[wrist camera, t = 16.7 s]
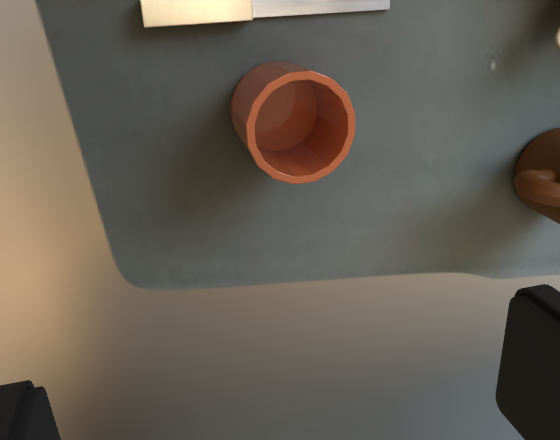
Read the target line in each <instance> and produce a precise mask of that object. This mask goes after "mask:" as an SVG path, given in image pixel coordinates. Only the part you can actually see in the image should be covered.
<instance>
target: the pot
mask: <svg viewBox="0 0 560 440" xmlns="http://www.w3.org/2000/svg"><path fill="white" fill-rule="evenodd" d="M231 119H232V123H233V127H234V129H235V131H236V133H237V135H238V136H239V138H240V140H241V142H242V143H243V145H244V146H245V148H246V149H247V151H248V152H249V154H250V155H251V157H252V158H253V159H254V161H255V162H256V164H257V165H258V167H260V168H261V169H262V170H263V171H265V172H266V173H267V174H268V175H270V176H271V177H272V178H274V179H276V180H280V181H284V182H287V183H291V184H299V183H307V182H314V181H316V180H318V179H320V178H322V177H324V176H325V175H327V174H329V173H331V172H333V171H334V170H335V169H336V167H337V166H338V165H339V164H340V163H341V162H342V161H343V159H344V158H345V157H346V156H347V154H348V152H349V149H350V147H351V144H352V141H353V139H354V136H355V111H354V109H353V106H352V104H351V101H350V99H349V96H348V94H347V92H346V91H345V90H344V89H342V88H341V87H340V86H339V85H338V84H337V83H336V82H335V81H334V80H333V79H332V78H330V77H328V76H325V75H322V74H319V73H317V72H314V71H311V70H309V69H306V68H303V67H300V66H298V65H295V64H292V63H289V62H285V61H272V62H267V63H263V64H261V65H259V66H256V67H255V68H253V69H252V70H250V71H249V72H248V73H247V74H246V75H245V76H244V77H243V78H242V79H241V80H240V82H239V83H238V85H237V87H236V88H235V91H234V93H233V96H232V101H231Z"/></svg>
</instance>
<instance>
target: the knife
mask: <svg viewBox="0 0 560 440" xmlns="http://www.w3.org/2000/svg"><path fill="white" fill-rule="evenodd" d="M140 5H141V12H142V18H143V25H144V28H149V27H165V26H180V25H196V24H212V23H227V22H243V21H253V18H263V17H278V16H294V15H310V14H326V13H342V12H358V11H374V10H389V9H390V0H140Z"/></svg>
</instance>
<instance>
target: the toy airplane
mask: <svg viewBox="0 0 560 440" xmlns="http://www.w3.org/2000/svg"><path fill="white" fill-rule="evenodd" d="M555 43H556V46H557V47H558V49H559V50H560V27H559V29H558V31H557V33H556V36H555Z"/></svg>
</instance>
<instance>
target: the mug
mask: <svg viewBox="0 0 560 440" xmlns="http://www.w3.org/2000/svg"><path fill="white" fill-rule="evenodd" d="M514 186H515V189H516V192H517V194H518V196H519V198H520V199H521V200H522V201H523V203H524V204H526V205H527V206H528V207H530V208H531V209H533V210H535V211H536V212H538V213H540V214H542V215H544V216H546V217H548V218H550V219H551V220H553V221H555V222H557V223H559V224H560V128H556V129H552V130H550V131H547V132H545V133H543V134H541V135H540V136H538V137H537V138H535V139H534V140H533V141H532V142H531V143H530V144H529V145H528V146H527V147H526V149H525V150H524V152H523V153H522V155H521V157H520V159H519V161H518V163H517V166H516V170H515V176H514Z"/></svg>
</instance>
